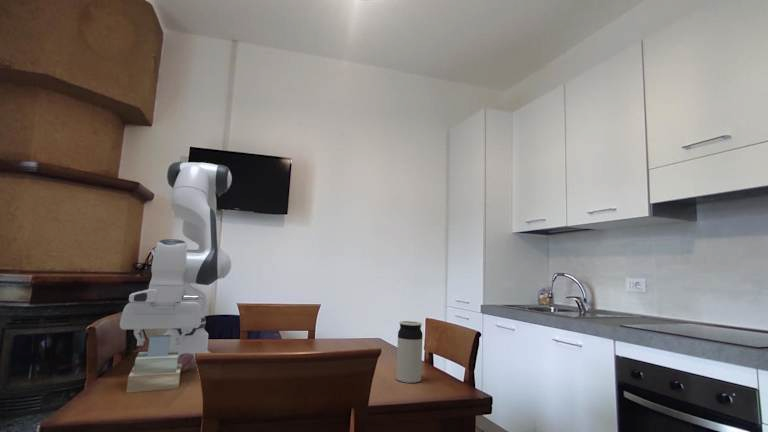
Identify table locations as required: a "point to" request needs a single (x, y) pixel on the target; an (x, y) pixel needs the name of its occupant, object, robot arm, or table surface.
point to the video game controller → (185, 361)
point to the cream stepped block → (154, 373)
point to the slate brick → (159, 345)
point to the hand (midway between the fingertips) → (159, 345)
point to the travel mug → (409, 352)
